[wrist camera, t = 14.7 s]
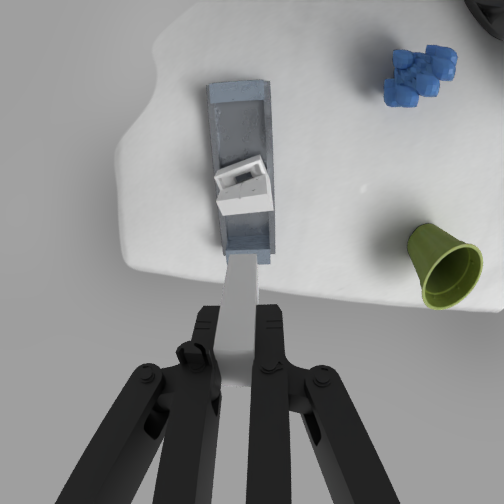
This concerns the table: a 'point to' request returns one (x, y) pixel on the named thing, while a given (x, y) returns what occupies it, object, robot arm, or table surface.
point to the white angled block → (244, 188)
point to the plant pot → (443, 266)
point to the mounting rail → (243, 158)
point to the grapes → (418, 75)
